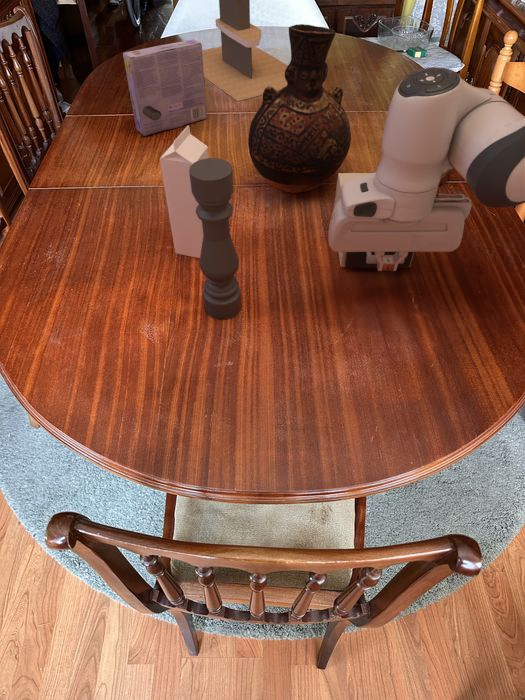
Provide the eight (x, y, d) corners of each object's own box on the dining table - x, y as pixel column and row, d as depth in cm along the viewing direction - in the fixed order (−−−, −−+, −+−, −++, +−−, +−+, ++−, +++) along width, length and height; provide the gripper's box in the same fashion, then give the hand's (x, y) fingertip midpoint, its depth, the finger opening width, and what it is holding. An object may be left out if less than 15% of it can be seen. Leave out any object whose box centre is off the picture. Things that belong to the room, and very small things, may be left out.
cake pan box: (203, 110, 133) (196, 35, 120) (212, 118, 130) (206, 41, 117) (135, 130, 126) (120, 52, 113) (143, 138, 124) (129, 59, 110)
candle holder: (238, 291, 87) (231, 154, 69) (244, 317, 83) (237, 179, 65) (202, 296, 87) (185, 159, 68) (206, 321, 83) (188, 183, 64)
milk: (175, 253, 94) (154, 139, 78) (187, 235, 98) (170, 121, 81) (205, 259, 93) (191, 144, 76) (217, 240, 97) (206, 126, 80)
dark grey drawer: (413, 284, 87) (424, 247, 81) (347, 284, 87) (353, 247, 81) (395, 219, 100) (403, 184, 94) (337, 219, 100) (342, 184, 94)
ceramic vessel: (256, 211, 103) (253, 49, 80) (243, 167, 114) (237, 14, 92) (355, 201, 105) (380, 40, 83) (333, 159, 117) (350, 7, 94)
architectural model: (313, 80, 145) (319, -1, 130) (237, 101, 137) (234, 17, 122) (245, 40, 167) (243, -33, 152) (176, 56, 158) (166, -20, 143)
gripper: (469, 182, 75) (445, 256, 86) (331, 182, 75) (323, 256, 86) (481, 206, 71) (454, 281, 81) (335, 207, 71) (326, 281, 82)
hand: (386, 268), depth 84 cm, fingers closed, pressing on dark grey drawer
